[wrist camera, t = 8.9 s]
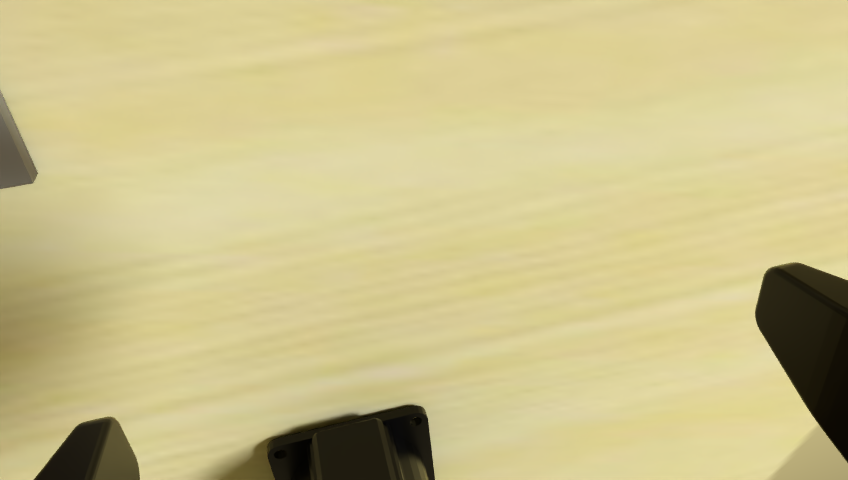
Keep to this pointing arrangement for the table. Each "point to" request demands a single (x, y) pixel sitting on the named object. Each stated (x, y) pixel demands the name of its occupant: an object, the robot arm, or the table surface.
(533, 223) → the table surface
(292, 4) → the table surface
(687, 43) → the table surface
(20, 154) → the socket
